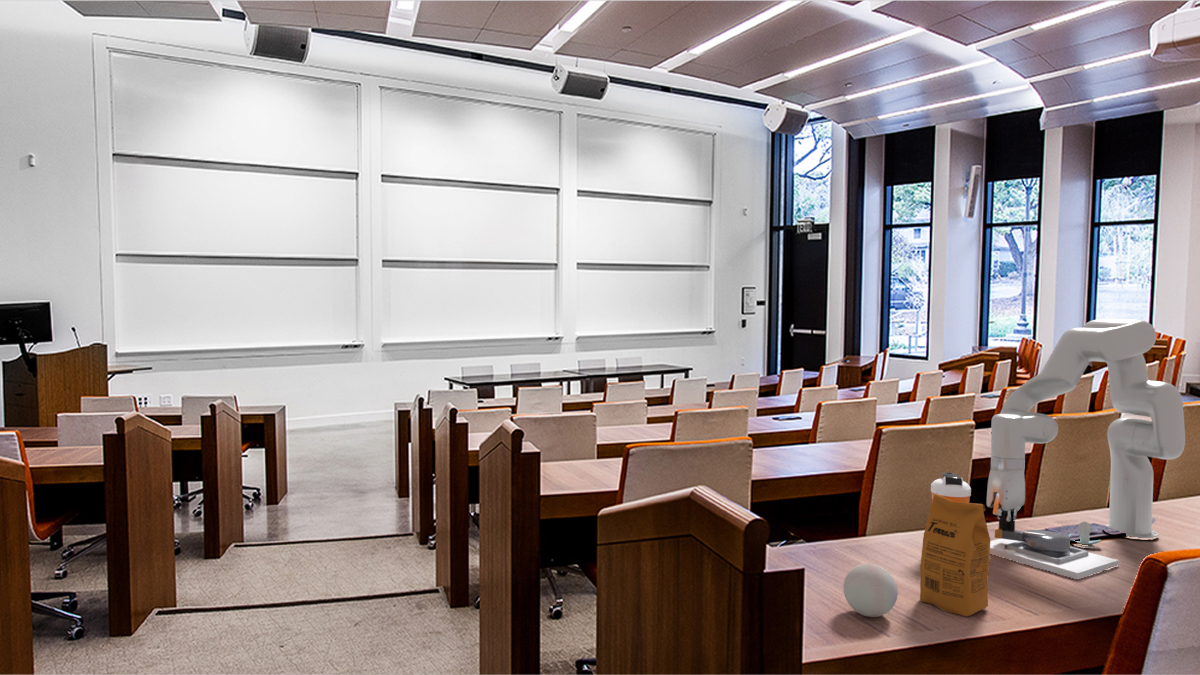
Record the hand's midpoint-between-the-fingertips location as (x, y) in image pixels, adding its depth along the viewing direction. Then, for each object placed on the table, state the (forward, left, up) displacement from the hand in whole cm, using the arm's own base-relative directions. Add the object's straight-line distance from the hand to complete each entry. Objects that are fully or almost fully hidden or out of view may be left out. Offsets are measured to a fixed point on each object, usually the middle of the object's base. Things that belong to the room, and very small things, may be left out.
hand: (1006, 535), depth 193 cm
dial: (0, +6, -2) cm, 7 cm away
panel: (-1, +9, -4) cm, 10 cm away
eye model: (+65, +11, -4) cm, 66 cm away
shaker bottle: (+18, -4, -4) cm, 18 cm away
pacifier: (-20, +8, -4) cm, 22 cm away
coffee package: (+46, +16, -4) cm, 48 cm away
